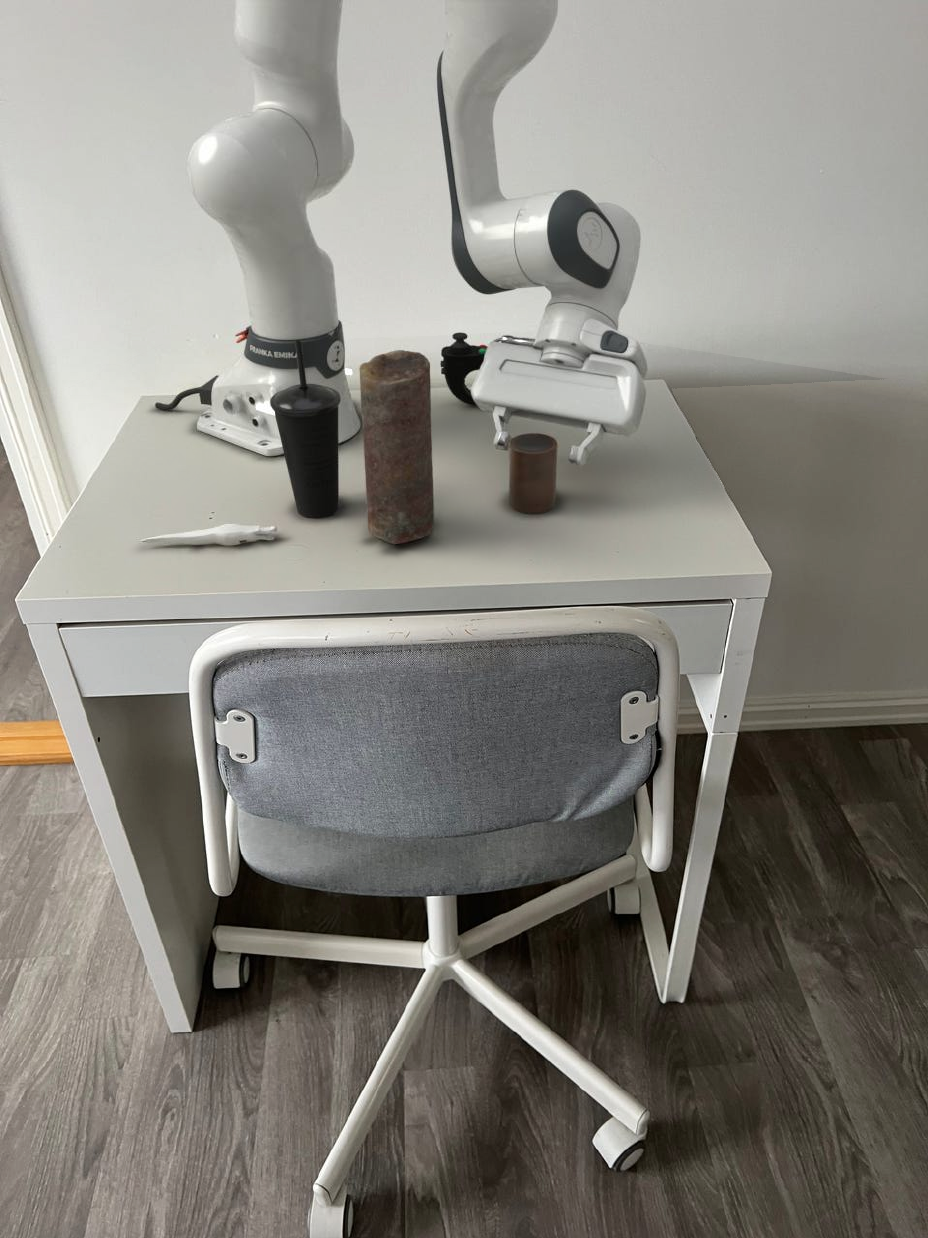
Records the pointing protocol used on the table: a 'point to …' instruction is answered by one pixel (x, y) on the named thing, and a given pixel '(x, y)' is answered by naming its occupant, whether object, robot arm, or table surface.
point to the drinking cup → (310, 442)
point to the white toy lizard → (216, 535)
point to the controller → (461, 365)
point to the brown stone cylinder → (398, 445)
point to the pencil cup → (532, 473)
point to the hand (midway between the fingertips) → (537, 455)
